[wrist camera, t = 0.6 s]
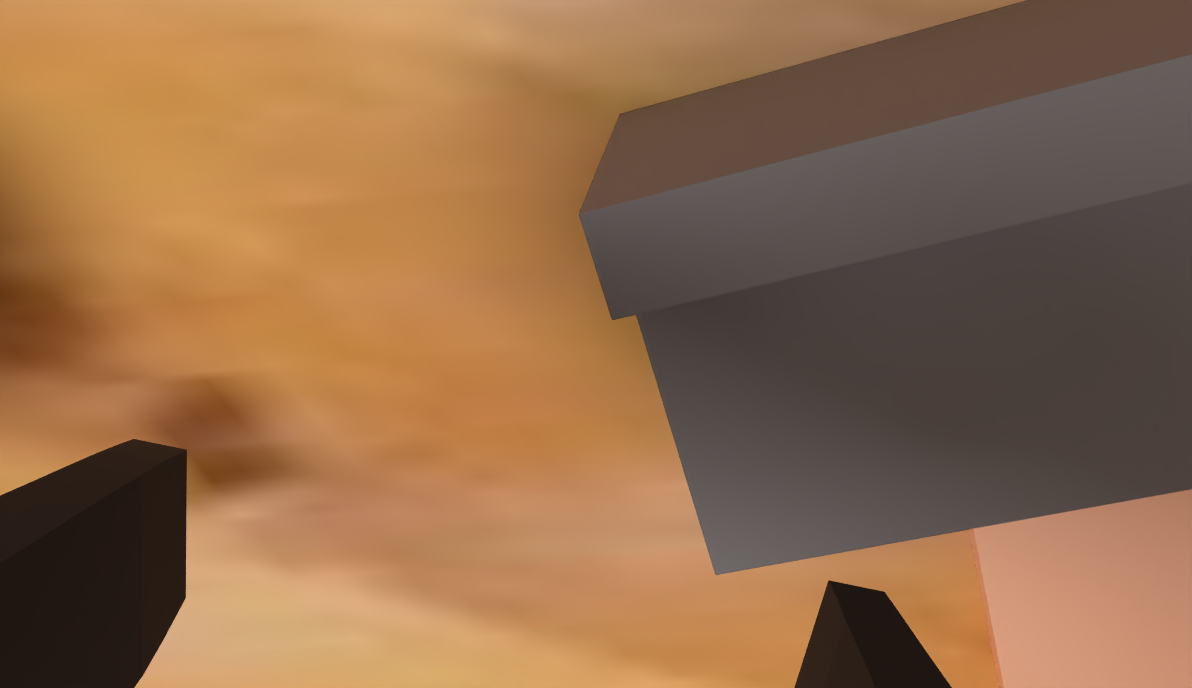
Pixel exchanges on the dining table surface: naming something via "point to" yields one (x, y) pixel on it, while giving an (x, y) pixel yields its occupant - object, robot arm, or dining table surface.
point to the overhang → (917, 278)
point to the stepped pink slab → (1091, 595)
